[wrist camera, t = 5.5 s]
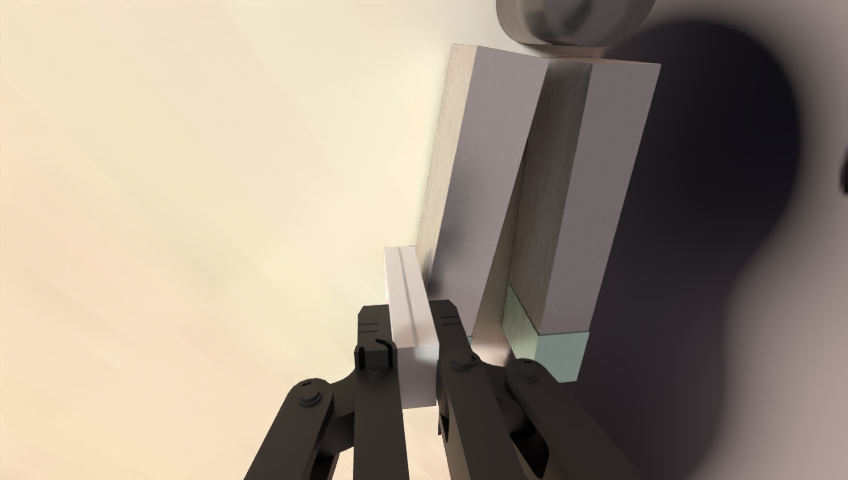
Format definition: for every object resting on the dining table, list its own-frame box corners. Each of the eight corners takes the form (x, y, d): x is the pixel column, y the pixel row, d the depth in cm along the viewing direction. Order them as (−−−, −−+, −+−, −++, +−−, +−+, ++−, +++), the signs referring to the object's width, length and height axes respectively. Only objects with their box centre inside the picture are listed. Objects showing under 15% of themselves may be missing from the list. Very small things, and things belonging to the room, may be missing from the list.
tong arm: (451, 43, 15) (476, 45, 12) (510, 54, 16) (551, 59, 12) (400, 330, 22) (406, 387, 18) (443, 331, 22) (457, 388, 19)
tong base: (500, -47, 14) (567, -89, 10) (613, -43, 15) (731, -80, 10) (468, 329, 23) (495, 407, 18) (541, 323, 23) (586, 397, 19)
